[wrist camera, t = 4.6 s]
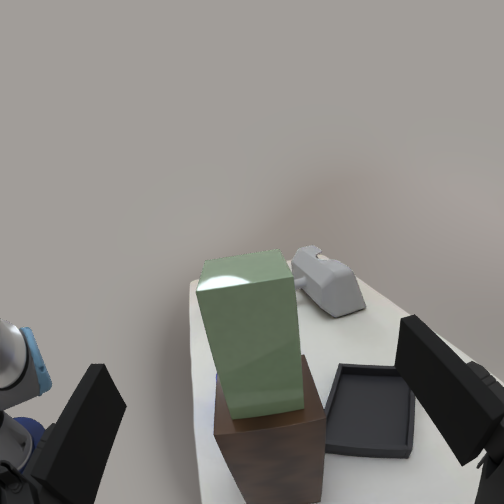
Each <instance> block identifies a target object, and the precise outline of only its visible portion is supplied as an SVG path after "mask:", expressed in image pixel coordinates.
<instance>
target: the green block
mask: <svg viewBox="0 0 504 504" xmlns="http://www.w3.org/2000/svg"><path fill="white" fill-rule="evenodd" d="M196 295H197V299H198V303H199V307H200V311H201V315H202V319H203V323H204V327H205V330H206V334H207V338H208V342H209V345H210V349H211V352H212V356H213V360H214V363H215V367H216V370H217V373H218V377H219V380H220V383H221V387H222V390H223V393H224V397H225V400H226V403H227V406H228V409H229V412H230V415H231V418H232V420H234V419H243V418H252V417H259V416H266V415H273V414H279V413H285V412H290V411H296V410H301V409H304V393H303V377H302V363H301V350H300V337H299V325H298V314H297V303H296V293H295V283H294V276H293V274H292V272H291V270H290V268H289V266H288V264H287V263H286V261H285V259H284V257H283V255H282V253H281V251H280V250H279V249H275V250H269V251H263V252H257V253H250V254H244V255H238V256H232V257H225V258H219V259H213V260H206V261H205V263H204V266H203V269H202V273H201V276H200V279H199V283H198V286H197V289H196Z"/></svg>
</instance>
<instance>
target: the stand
mask: <svg viewBox="0 0 504 504" xmlns="http://www.w3.org/2000/svg"><path fill="white" fill-rule="evenodd" d="M301 363H302V377H303V393H304V409H301V410H296V411H290V412H285V413H279V414H273V415H266V416H259V417H252V418H243V419H234V420H232V418H231V415H230V412H229V409H228V406H227V403H226V400H225V397H224V393H223V390H222V387H221V383H220V380H219V377H218V373H217V382H216V398H215V416H214V437H215V439H216V442H217V444H218V446H219V448H220V451H221V453H222V455H223V457H224V459H225V461H226V464H227V466H228V468H229V470H230V472H231V474H232V476H233V478H234V480H235V482H236V484H237V486H238V488H239V490H240V492H241V494H242V496H243V498H244V500H245V501H246V503H247V504H312V503H316V502H321V493H322V483H323V471H324V457H325V440H326V415H325V412H324V409H323V406H322V403H321V401H320V398H319V395H318V392H317V389H316V386H315V383H314V380H313V378H312V375H311V372H310V369H309V366H308V363H307V361H306V358H305V355H301Z"/></svg>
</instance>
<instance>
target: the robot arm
mask: <svg viewBox="0 0 504 504" xmlns="http://www.w3.org/2000/svg"><path fill="white" fill-rule="evenodd" d="M394 367H395V368H396V369H397V371H398V372H399V374H400V375H401V376H402V378H403V379H404V381H405V382H406V383H407V385H408V386H409V388H410V389H411V390H412V392H413V393H414V395H415V396H416V398H417V399H418V400H419V402H420V403H421V405H422V406H423V408H424V409H425V411H426V412H427V414H428V415H429V417H430V418H431V420H432V421H433V423H434V424H435V425H436V427H437V428H438V430H439V432H440V433H441V435H442V436H443V438H444V439H445V441H446V442H447V444H448V445H449V447H450V448H451V450H452V452H453V453H454V455H455V456H456V458H457V459H458V461H459V463H460V464H461V466H464V465H466V464H467V463H469V462H470V461H472V460H473V459H475V458H476V457H478V455H479V454H480V453H481V451H482V450H483V448H484V449H485V450H486V452H487V453H486V454H485V456H484V457H483V458H482V459H481V461H480V462H479V463H478V465H477V468H478V469H479V468H480V466H481V465H482V464H483V468H482V474H481V479H480V483H479V488H478V492H477V496H476V500H475V504H504V387H503V386H502V385H501V384H500V383H499V382H498V381H497V382H496V379H495V378H494V377H493V376H492V375H490V373H489V372H488V371H487V370H486V369H485V368H484V367H483V366H481V365H479V364H477V363H475V362H473V361H471V362H469V363H467V364H466V363H465V362H464V361H463V360H462V359H461V358H460V357H459V356H458V355H457V354H456V353H455V352H454V351H453V350H452V349H451V348H450V347H449V346H448V345H447V344H446V343H445V342H444V341H442V340H441V339H440V338H439V337H438V336H437V335H436V334H435V333H434V332H433V331H432V330H431V329H430V328H429V327H428V326H427V325H426V324H425V323H424V322H422V321H421V320H420V319H419V318H418V317H417V316H416V315H415V314H414V315H411V316H408V317H404V318H401V321H400V330H399V338H398V345H397V352H396V359H395V365H394ZM51 387H52V381H51V379H50V376H49V374H48V371H47V369H46V366H45V364H44V361H43V359H42V356H41V354H40V351H39V349H38V346H37V343H36V341H35V338H34V335H33V333H32V330H31V329H30V328H29V327H25V328H20V329H19V330H18V329H17V327H16V326H14V325H13V324H12V323H10V322H8V321H6V320H2V319H0V504H94V501H95V498H96V495H97V491H98V488H99V485H100V482H101V478H102V475H103V472H104V469H105V466H106V463H107V460H108V457H109V454H110V451H111V448H112V446H113V442H114V440H115V437H116V434H117V431H118V428H119V426H120V423H121V420H122V417H123V415H124V412H125V410H126V407H127V406H126V404H125V402H124V401H123V399H122V397H121V395H120V393H119V391H118V390H117V388H116V386H115V384H114V382H113V380H112V378H111V376H110V374H109V372H108V370H107V368H106V366H105V364H91V365H90V366H89V368H88V369H87V371H86V373H85V375H84V376H83V378H82V379H81V381H80V383H79V384H78V386H77V388H76V389H75V391H74V393H73V394H72V396H71V398H70V400H69V401H68V403H67V405H66V406H65V408H64V410H63V412H62V414H61V415H60V417H59V419H58V421H57V422H56V424H54V423H52V424H51V425H50V426H49V427H48V428H47V429H46V430H45V431H44V433H43V435H42V437H41V439H40V441H39V442H38V444H37V446H36V447H37V448H35V445H34V440H33V437H32V436H31V434H30V433H29V432H28V431H27V429H26V428H25V427H23V426H22V425H21V424H20V423H18V422H17V421H16V420H14V419H13V418H12V417H10V416H9V415H8V414H7V413H5V412H4V411H3V410H6V409H8V408H10V407H13V406H15V405H18V404H20V403H22V402H25V401H27V400H29V399H32V398H34V397H36V396H41V395H42V394H43V393H45V392H47V391H48V390H50V389H51ZM34 449H35V450H34ZM22 472H23V473H22ZM21 473H22V474H21Z"/></svg>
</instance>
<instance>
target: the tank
mask: <svg viewBox="0 0 504 504" xmlns="http://www.w3.org/2000/svg"><path fill="white" fill-rule="evenodd" d="M321 252H322V251H321V250H320V249H319V248H317V247H315V246H314V245H312V246H307V247H302V248H299V249H298V251H297V252H296V254H295V256H294V258H293V259H292V261H291V265H292V274H293V276H294V283H295V290H297V289H301V288H302V289H303V290H304V291H305V292H306V293H307V294H308V295H309V296H310V297H311V298H312V299H313V300H314V301H315V302H316V303H317V304H318V305H319V306H320V307H321V308H322V309H323V310H325V311H326V312H328V313H329V314H331V315H332V316H333V317H335V318H336V317H339V316H342V315H345V314H349V313H352V312H355V311H358V310H361V309H364V308H366V304H365V302H364V299H363V296H362V293H361V291H360V288H359V285H358V283H357V280H356V277H355V275H354V273H353V271H352V269H351V268H350V267H348V266H346V265H345V264H343V263H342V262H340V261H338V260H322V259H318V257H317V255H318V254H319V253H321Z"/></svg>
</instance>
